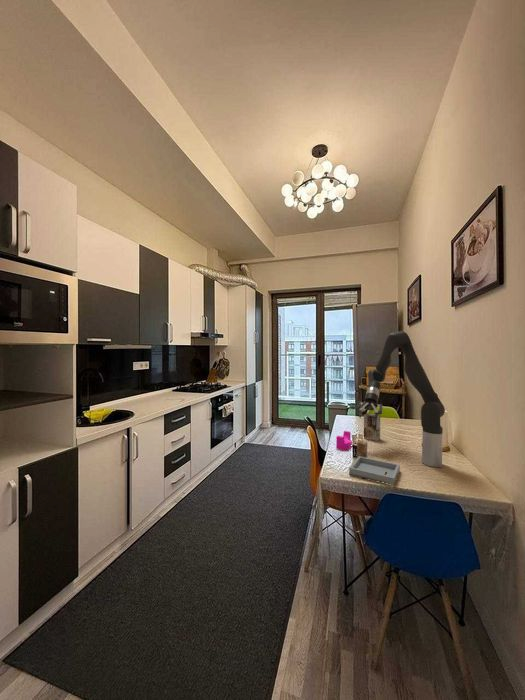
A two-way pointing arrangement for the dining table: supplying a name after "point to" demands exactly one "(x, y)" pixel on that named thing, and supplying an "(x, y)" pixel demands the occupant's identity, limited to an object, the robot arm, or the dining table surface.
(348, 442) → the toy block
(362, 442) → the walnut block
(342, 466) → the dining table surface
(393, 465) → the tray
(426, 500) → the dining table surface
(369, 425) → the coffee box
